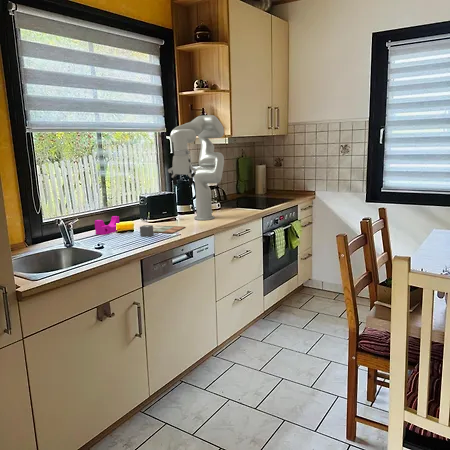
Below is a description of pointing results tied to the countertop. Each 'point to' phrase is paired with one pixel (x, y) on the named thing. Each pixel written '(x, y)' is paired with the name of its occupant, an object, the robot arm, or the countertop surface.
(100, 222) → the toy block
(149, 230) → the die
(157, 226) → the striped panel
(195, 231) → the countertop surface
